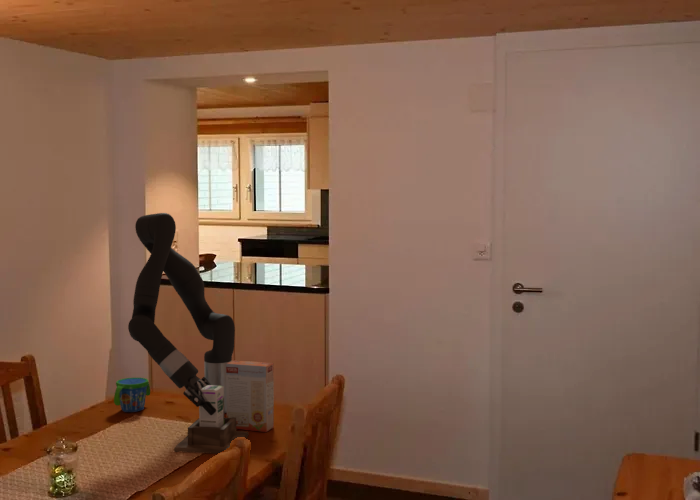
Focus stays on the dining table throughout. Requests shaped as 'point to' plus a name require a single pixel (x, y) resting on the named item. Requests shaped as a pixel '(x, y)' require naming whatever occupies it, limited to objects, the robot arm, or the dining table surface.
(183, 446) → the socket holder
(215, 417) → the syrup box
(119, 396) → the snack cup
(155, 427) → the dining table surface
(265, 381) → the cracker box
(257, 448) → the dining table surface
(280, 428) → the dining table surface
